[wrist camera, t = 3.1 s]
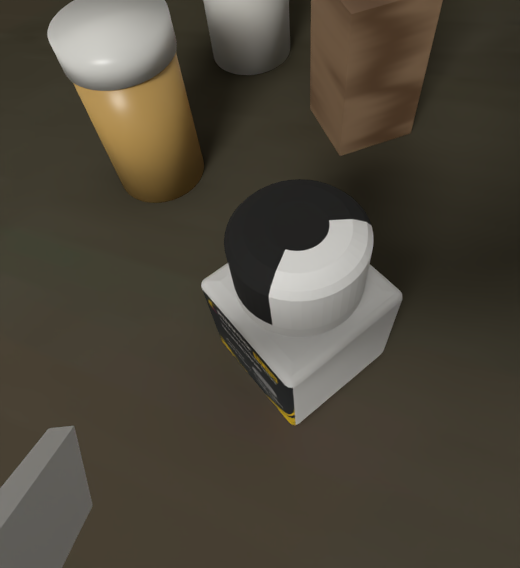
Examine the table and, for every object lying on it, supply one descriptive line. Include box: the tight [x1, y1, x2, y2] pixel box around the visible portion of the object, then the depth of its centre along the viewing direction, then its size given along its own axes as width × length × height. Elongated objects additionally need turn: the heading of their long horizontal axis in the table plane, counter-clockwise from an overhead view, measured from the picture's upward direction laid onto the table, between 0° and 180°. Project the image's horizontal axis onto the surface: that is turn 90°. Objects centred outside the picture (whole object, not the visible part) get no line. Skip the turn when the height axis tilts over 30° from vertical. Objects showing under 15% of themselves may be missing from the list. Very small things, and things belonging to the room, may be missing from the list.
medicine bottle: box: [201, 179, 402, 425], centre depth 24 cm, size 7×7×12 cm
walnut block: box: [310, 0, 443, 156], centre depth 34 cm, size 6×6×11 cm
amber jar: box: [48, 0, 204, 203], centre depth 32 cm, size 7×7×12 cm
